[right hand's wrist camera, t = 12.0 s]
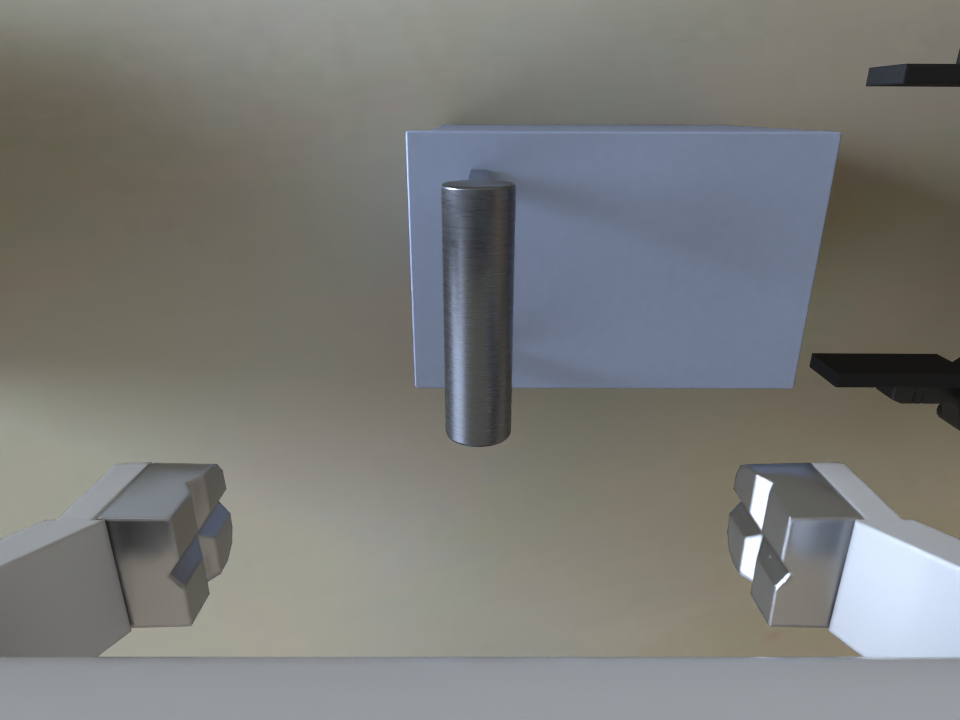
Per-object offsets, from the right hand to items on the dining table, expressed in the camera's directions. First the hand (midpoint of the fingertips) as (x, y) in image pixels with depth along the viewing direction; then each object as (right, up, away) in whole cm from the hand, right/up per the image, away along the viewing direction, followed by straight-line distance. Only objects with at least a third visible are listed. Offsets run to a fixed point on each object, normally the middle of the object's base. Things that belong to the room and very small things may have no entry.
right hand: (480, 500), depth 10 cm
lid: (+5, +6, +16) cm, 18 cm away
